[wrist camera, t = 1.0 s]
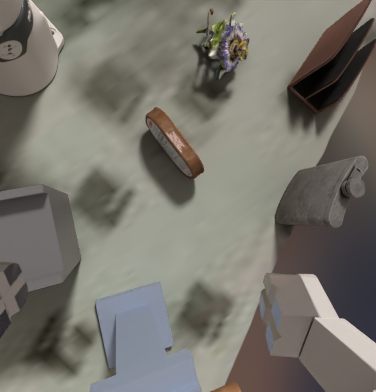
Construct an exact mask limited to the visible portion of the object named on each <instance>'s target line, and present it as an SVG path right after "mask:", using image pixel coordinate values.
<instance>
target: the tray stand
mask: <svg viewBox="0 0 376 392" xmlns="http://www.w3.org/2000/svg"><path fill="white" fill-rule="evenodd" d="M80 260H81V255H80V251H79V246H78V241H77V236H76V232H75V227H74V222H73V217H72V213H71V208H70V203H69V198H68V194H65V193H63V192H60V191H58V190H55V189H53V188H50V187H48V186H45V185H43V184H40V185H35V186H29V187H23V188H17V189H11V190H5V191H0V262H10V263H17V264H19V266H20V268H21V270H22V273H21V274H20V277H21V278H22V279H23V280H25V281H26V284H27V286H28V292H29V291H33V290H37V289H41V288H44V287H48V286H52V285H55V284H59V283H63V281H64V280H65V279H66V278H67V276H68V275H69V274H70V272H71V271H72V270H73V269H74V267H75V266H76V265H77V263H78V262H79V261H80Z"/></svg>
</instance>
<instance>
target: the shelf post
mask: <svg viewBox="0 0 376 392" xmlns="http://www.w3.org/2000/svg"><path fill="white" fill-rule="evenodd" d="M95 304H96V308H97V313H98V318H99V323H100V327H101V332H102V337H103V342H104V346H105V351H106V356H107V361H108V366H109V369H111V368H113V367H116V375H114V376H112V377H109V378H106V379H104V380H101V381H98V382H96V383H93V384H91V386H90V392H202V390H201V387H200V385H199V383H198V380H197V375H196V370H195V366H194V361H193V357H192V355H191V353H190V352H189V350H188V348H186V349H184V350H181V351H178V352H176V353H173V354H170V355H168V356H167V354H166V351H165V348H168V347H170V346H173V345H174V344H173V339H172V335H171V330H170V325H169V320H168V316H167V311H166V306H165V302H164V297H163V292H162V288H161V283H160V282H156V283H152V284H149V285H145V286H142V287H139V288H135V289H132V290H129V291H125V292H122V293H118V294H115V295H112V296H108V297H105V298H101V299H98V300H96V302H95Z"/></svg>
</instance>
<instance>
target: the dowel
mask: <svg viewBox="0 0 376 392" xmlns="http://www.w3.org/2000/svg"><path fill="white" fill-rule="evenodd" d="M211 392H241V390H240V388H239V387H238V385H237V383H236V382H232V383H229V384H227V385H225V386H222V387H220V388H218V389H216V390H213V391H211Z"/></svg>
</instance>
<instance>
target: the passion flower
mask: <svg viewBox="0 0 376 392" xmlns="http://www.w3.org/2000/svg"><path fill="white" fill-rule="evenodd" d="M209 11H210V12H211V15H212V14H213V9H210V10H209ZM235 14H236V13H233V14H232V15H231V17H230V23H229V24H228V23H227V20H223V21H221V22H219V23H218V24H215V25H214V24H213V25H212V29H211V30H210V29H209V12H208V27H207V28H206V29H204V30H199V31H197V32H196V33H206V34H207V37H206V39H205V40H204V42H203V43H202V44H200V45H199V46H203V47H205V49H206V50H207V51H208V57H209V58H210V59H218V60H220V62H221V64H220V67H219V69H217V70H216V72H215V77H216V79H217V80H218V79H220V78H221V76H223V74H224V72H230V71H232V70H233V69H234V68H235V67H236V65H237V64H238V60H241V61H242V60H243V59H244V60H245V59H246V57H247V55H248V43H249V38H247V39H246V37H247V34H246V32H245V33H243V31H242V30H243V29H242V28H243V23H238V24H235V20H234V17H235ZM209 34H211V35H212V39H211V40H210V41H209V42H208V35H209ZM209 47H211V48H209Z"/></svg>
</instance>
